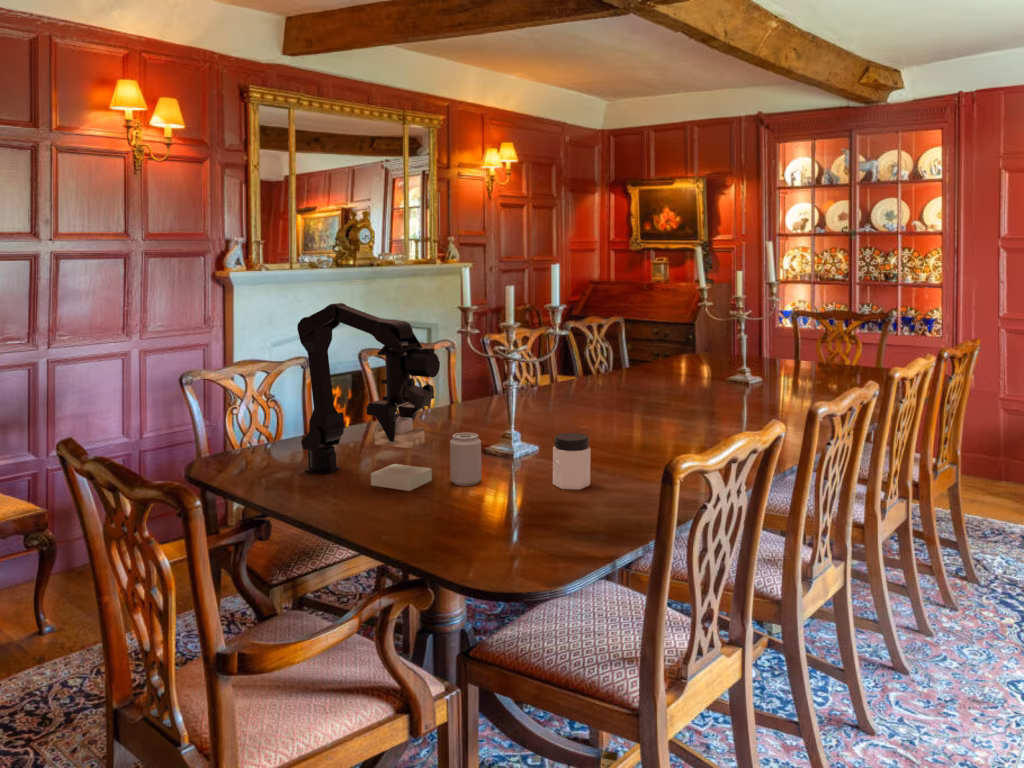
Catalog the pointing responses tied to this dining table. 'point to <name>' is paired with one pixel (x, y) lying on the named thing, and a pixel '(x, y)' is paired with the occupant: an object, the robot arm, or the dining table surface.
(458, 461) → the can
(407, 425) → the pale pink square block
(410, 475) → the dock
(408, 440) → the castle tower
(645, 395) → the dining table surface
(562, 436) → the jar
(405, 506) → the dining table surface
